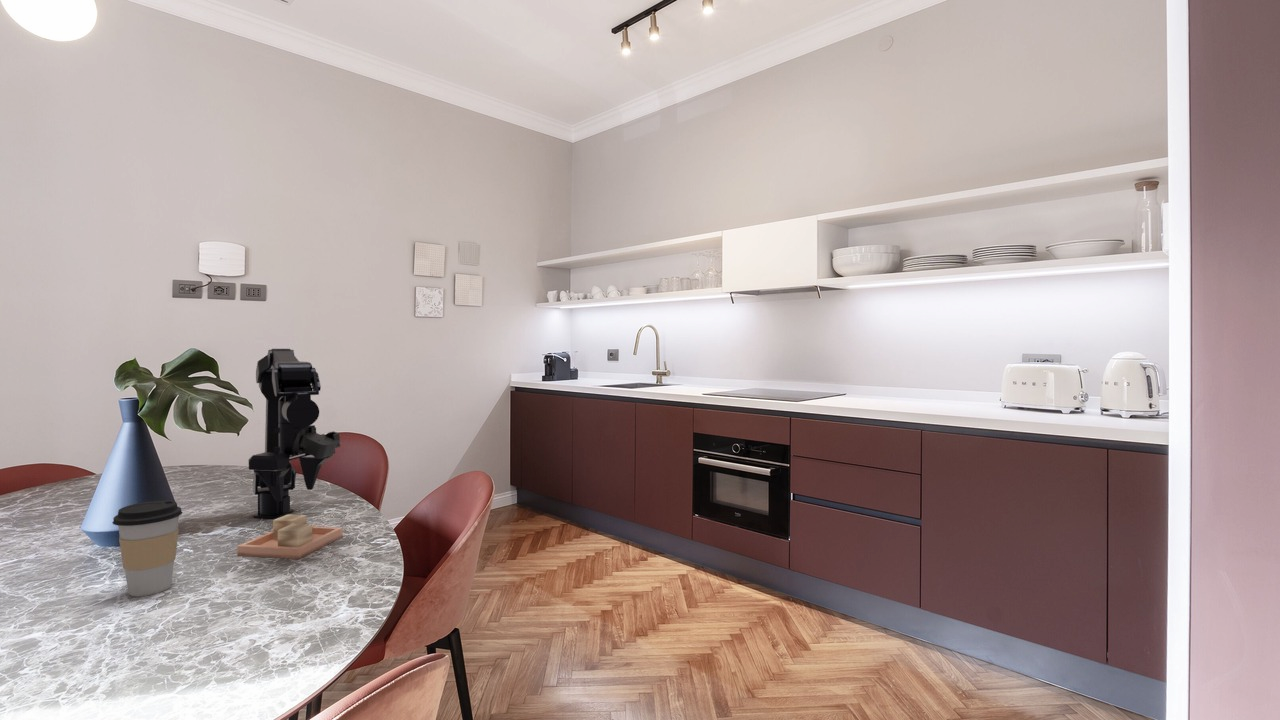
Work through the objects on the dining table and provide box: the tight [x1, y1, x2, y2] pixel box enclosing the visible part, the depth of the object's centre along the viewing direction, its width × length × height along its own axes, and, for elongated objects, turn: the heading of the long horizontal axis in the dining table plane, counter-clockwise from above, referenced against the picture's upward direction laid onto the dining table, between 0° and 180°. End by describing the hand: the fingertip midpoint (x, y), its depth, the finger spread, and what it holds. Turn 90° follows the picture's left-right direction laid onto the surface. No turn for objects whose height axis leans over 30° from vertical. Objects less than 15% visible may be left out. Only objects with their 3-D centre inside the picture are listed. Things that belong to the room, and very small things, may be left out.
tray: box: [236, 525, 344, 560], centre depth 125 cm, size 14×14×2 cm
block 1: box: [272, 513, 307, 541], centre depth 128 cm, size 4×4×4 cm
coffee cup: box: [112, 500, 183, 597], centre depth 102 cm, size 9×9×15 cm
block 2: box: [278, 523, 313, 547], centre depth 121 cm, size 4×4×4 cm
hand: (295, 495), depth 121 cm, fingers open, 9 cm apart
